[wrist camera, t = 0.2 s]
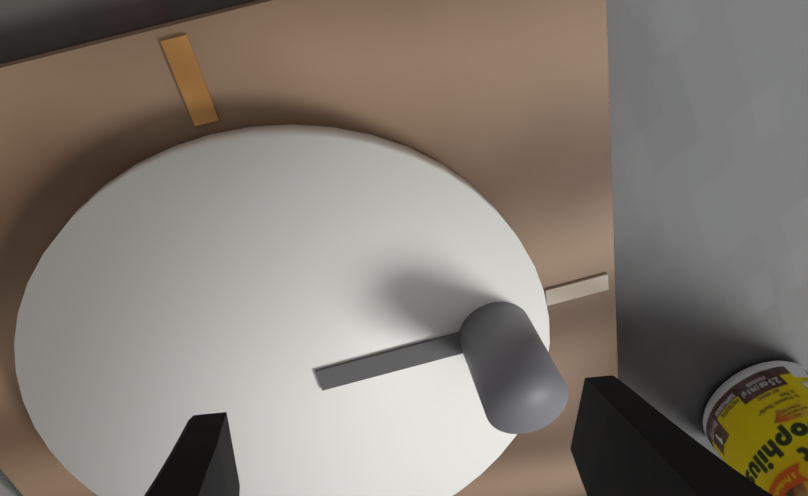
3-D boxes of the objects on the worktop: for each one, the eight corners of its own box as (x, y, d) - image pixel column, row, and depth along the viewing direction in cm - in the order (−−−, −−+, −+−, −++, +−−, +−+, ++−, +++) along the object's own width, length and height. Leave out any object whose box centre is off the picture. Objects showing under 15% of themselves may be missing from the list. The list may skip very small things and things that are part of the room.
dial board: (611, 466, 29) (622, 485, 28) (132, 597, 28) (126, 620, 27) (587, -83, 17) (605, -83, 16) (-250, 126, 16) (-285, 139, 15)
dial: (162, 569, 26) (138, 684, 22) (-99, 212, 17) (-220, 301, 13) (557, 461, 26) (601, 556, 22) (511, 57, 17) (572, 98, 13)
